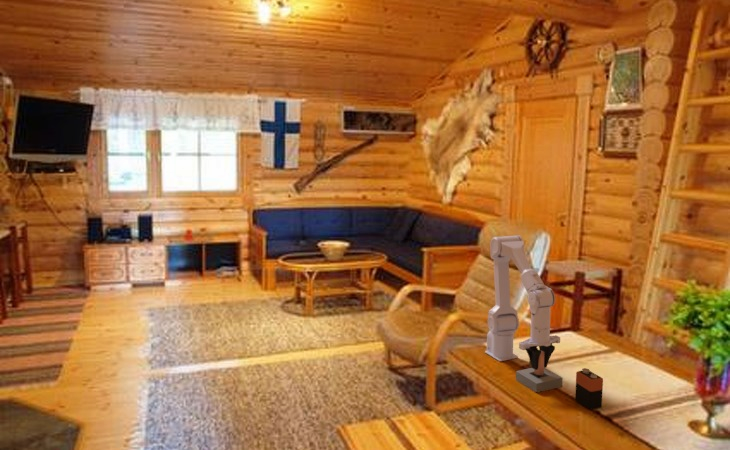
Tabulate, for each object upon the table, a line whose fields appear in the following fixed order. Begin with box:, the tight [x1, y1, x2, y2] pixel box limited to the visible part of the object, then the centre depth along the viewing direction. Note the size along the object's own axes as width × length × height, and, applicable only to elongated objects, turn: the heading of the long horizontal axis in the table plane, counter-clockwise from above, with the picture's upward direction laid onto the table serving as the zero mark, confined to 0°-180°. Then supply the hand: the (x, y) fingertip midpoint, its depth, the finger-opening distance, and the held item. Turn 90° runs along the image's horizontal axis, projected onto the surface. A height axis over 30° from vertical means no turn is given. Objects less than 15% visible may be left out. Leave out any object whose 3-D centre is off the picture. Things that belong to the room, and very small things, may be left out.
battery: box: [574, 367, 604, 411], centre depth 162 cm, size 4×7×10 cm, turn 17°
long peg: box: [534, 351, 545, 375], centre depth 176 cm, size 3×3×7 cm
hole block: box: [515, 367, 563, 393], centre depth 177 cm, size 10×10×3 cm
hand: (539, 367), depth 176 cm, fingers closed on long peg, 3 cm apart
